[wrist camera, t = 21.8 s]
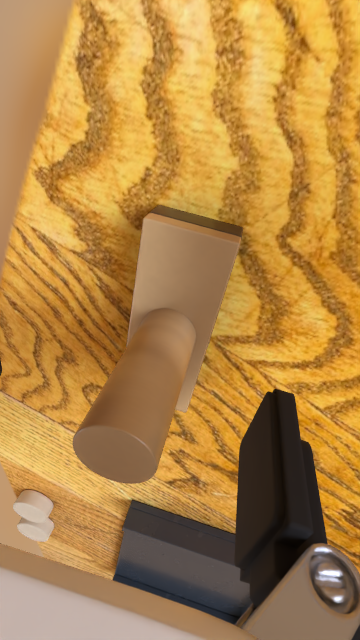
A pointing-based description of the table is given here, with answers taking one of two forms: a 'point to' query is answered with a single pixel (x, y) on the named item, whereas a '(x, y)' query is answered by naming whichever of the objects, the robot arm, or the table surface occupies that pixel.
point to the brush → (159, 342)
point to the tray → (182, 562)
